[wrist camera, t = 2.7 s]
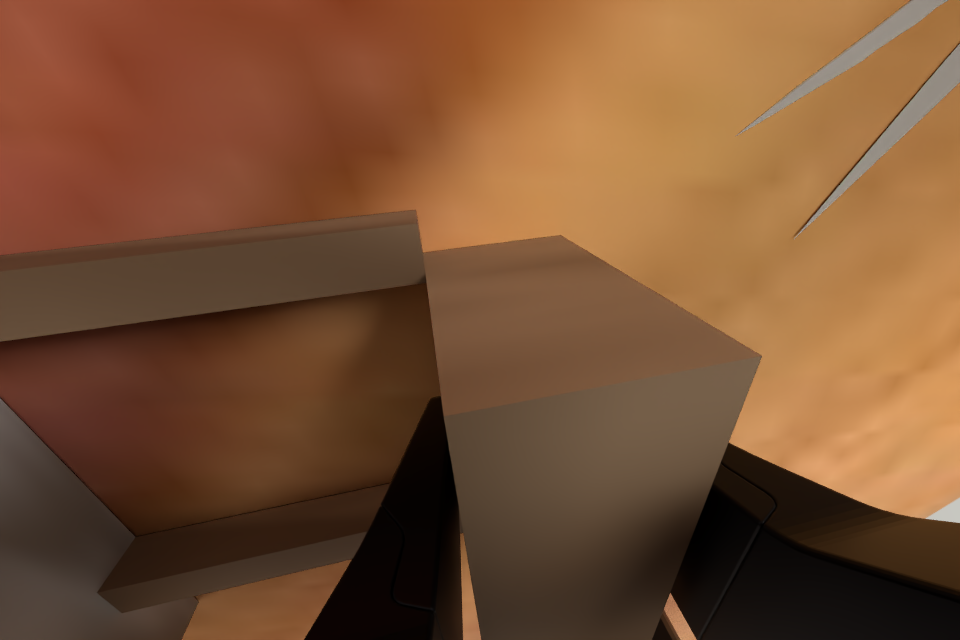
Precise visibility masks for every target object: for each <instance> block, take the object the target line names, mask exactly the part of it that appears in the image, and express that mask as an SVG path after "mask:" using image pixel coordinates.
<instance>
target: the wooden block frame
mask: <svg viewBox="0 0 960 640" xmlns="http://www.w3.org/2000/svg"><path fill="white" fill-rule="evenodd" d="M422 283H427V290H428V298H429V305H430V313H431V321H432V329H433V337H434V345H435V352H436V360H437V368H438V376H439V384H440V391H441V399H442V407H443V415H444V421H445V427H446V433H447V439H448V445H449V451H450V457H451V463H452V468H453V474H454V480H455V486H456V492H457V498H458V504H459V515H460V534H461V533H464V539H465V545H466V551H467V557H468V563H469V569H470V575H471V581H472V587H473V593H474V599H475V604H476V610H477V616H478V622H479V628H480V634H481V640H652V638H653V635H654V633H655V630H656V628H657V625H658V623H659V620H660V617H661V615H662V612H663V610H664V607H665V605H666V602H667V599H668V597H669V594H670V592H671V589H672V587H673V584H674V581H675V579H676V576H677V574H678V571H679V568H680V566H681V563H682V561H683V558H684V556H685V553H686V550H687V548H688V545H689V543H690V540H691V538H692V535H693V532H694V530H695V527H696V525H697V522H698V520H699V517H700V514H701V512H702V509H703V507H704V504H705V502H706V499H707V496H708V494H709V491H710V489H711V486H712V484H713V481H714V478H715V476H716V473H717V471H718V468H719V466H720V463H721V460H722V458H723V455H724V453H725V450H726V448H727V445H728V442H729V440H730V437H731V435H732V432H733V430H734V427H735V424H736V422H737V419H738V417H739V414H740V412H741V409H742V406H743V404H744V401H745V399H746V396H747V393H748V391H749V388H750V386H751V383H752V381H753V378H754V375H755V373H756V370H757V368H758V365H759V363H760V360H761V357H762V356H761V355H760V354H758V353H756V352H755V351H753V350H751V349H750V348H748V347H746V346H745V345H743V344H741V343H740V342H738V341H736V340H735V339H733V338H731V337H730V336H728V335H726V334H725V333H723V332H721V331H720V330H718V329H716V328H715V327H713V326H711V325H710V324H708V323H706V322H705V321H703V320H701V319H700V318H698V317H696V316H695V315H693V314H691V313H690V312H688V311H686V310H685V309H683V308H681V307H680V306H678V305H676V304H675V303H673V302H671V301H670V300H668V299H666V298H665V297H663V296H661V295H660V294H658V293H656V292H655V291H653V290H651V289H650V288H648V287H646V286H645V285H643V284H641V283H640V282H638V281H636V280H635V279H633V278H631V277H630V276H628V275H626V274H625V273H623V272H621V271H619V270H618V269H616V268H614V267H613V266H611V265H609V264H608V263H606V262H604V261H603V260H601V259H599V258H598V257H596V256H594V255H593V254H591V253H589V252H588V251H586V250H584V249H583V248H581V247H579V246H578V245H576V244H574V243H573V242H571V241H569V240H568V239H566V238H564V237H563V236H561V235H559V236H551V237H543V238H535V239H527V240H520V241H512V242H504V243H496V244H488V245H480V246H472V247H464V248H456V249H448V250H440V251H433V252H425V253H423V251H422V245H421V239H420V232H419V226H418V220H417V214H416V210H410V211H401V212H392V213H383V214H374V215H365V216H356V217H346V218H337V219H328V220H319V221H310V222H301V223H292V224H283V225H274V226H265V227H255V228H246V229H237V230H228V231H219V232H210V233H201V234H192V235H183V236H174V237H164V238H155V239H146V240H137V241H128V242H119V243H110V244H101V245H92V246H83V247H73V248H64V249H55V250H46V251H37V252H28V253H19V254H10V255H1V256H0V342H1V341H9V340H16V339H23V338H30V337H38V336H45V335H52V334H59V333H67V332H74V331H81V330H88V329H96V328H103V327H110V326H117V325H124V324H132V323H139V322H146V321H153V320H161V319H168V318H175V317H182V316H190V315H197V314H204V313H211V312H219V311H226V310H233V309H240V308H248V307H255V306H262V305H269V304H277V303H284V302H291V301H298V300H306V299H313V298H320V297H327V296H335V295H342V294H349V293H356V292H364V291H371V290H378V289H385V288H393V287H400V286H407V285H414V284H422ZM389 485H390V484H385V485H380V486H375V487H371V488H366V489H361V490H356V491H352V492H347V493H342V494H337V495H333V496H328V497H323V498H318V499H314V500H309V501H304V502H299V503H295V504H290V505H285V506H280V507H276V508H271V509H266V510H261V511H257V512H252V513H247V514H243V515H238V516H233V517H228V518H224V519H219V520H214V521H209V522H205V523H200V524H195V525H190V526H186V527H181V528H176V529H171V530H167V531H162V532H157V533H152V534H148V535H143V536H138V537H135V536H134V535H133V534H132V533H131V532H130V531H129V530H128V529H127V528H126V527H125V526H124V525H123V524H122V523H121V522H120V521H119V520H118V519H117V518H116V517H115V516H114V515H113V513H112V512H111V511H110V510H109V509H108V508H107V507H106V506H105V505H104V504H103V503H102V502H101V501H100V500H99V499H98V498H97V497H96V496H95V495H94V494H93V493H92V492H91V491H90V490H89V489H88V488H87V487H86V486H85V485H84V484H83V483H82V482H81V481H80V480H79V479H78V478H77V477H76V476H75V474H74V473H73V472H72V471H71V470H70V469H69V468H68V467H67V466H66V465H65V464H64V463H63V462H62V461H61V460H60V459H59V458H58V457H57V456H56V455H55V454H54V453H53V452H52V451H51V450H50V449H49V448H48V447H47V446H46V445H45V444H44V443H43V442H42V441H41V440H40V439H39V438H38V437H37V435H36V434H35V433H34V432H33V431H32V430H31V429H30V428H29V427H28V426H27V425H26V424H25V423H24V422H23V421H22V420H21V419H20V418H19V417H18V416H17V415H16V414H15V413H14V412H13V411H12V410H11V409H10V408H9V407H8V406H7V405H6V404H5V403H4V402H3V401H2V400H1V399H0V640H181V639H182V637H183V635H184V633H185V631H186V629H187V626H188V624H189V622H190V620H191V618H192V615H193V613H194V611H195V609H196V607H197V605H198V601H197V600H196V599H195V598H194V597H193V596H198V595H202V594H206V593H210V592H215V591H219V590H223V589H227V588H232V587H236V586H240V585H244V584H248V583H253V582H257V581H261V580H265V579H270V578H274V577H278V576H282V575H287V574H291V573H295V572H299V571H304V570H308V569H312V568H316V567H321V566H325V565H329V564H333V563H338V562H342V561H346V560H350V559H353V557H354V555H355V553H356V552H357V550H358V548H359V546H360V544H361V542H362V540H363V538H364V536H365V535H366V533H367V531H368V529H369V527H370V525H371V523H372V521H373V518H374V516H375V514H376V512H377V510H378V508H379V507H380V506H381V502H382V500H383V497H384V495H385V493H386V491H387V489H388V487H389Z"/></svg>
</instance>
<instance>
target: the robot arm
mask: <svg viewBox="0 0 960 640" xmlns="http://www.w3.org/2000/svg"><path fill="white" fill-rule="evenodd" d="M670 593H671V594H672V596H673V598H674V600H675V602H676V603H677V605H678V607H679V609H680V611H681V612H682V614H683V616H684V618H685V619H686V621H687V623H688V625H689V627H690V628H691V630H692V632H693V634H694V636H695V637H696V639H697V640H960V523H953V522H946V521H938V520H929V519H922V518H915V517H909V516H904V515H899V514H895V513H892V512H888V511H884V510H881V509H878V508H875V507H872V506H869V505H867V504H864V503H862V502H859V501H857V500H854V499H852V498H850V497H848V496H845V495H843V494H841V493H838V492H836V491H834V490H832V489H829V488H827V487H825V486H822V485H820V484H818V483H816V482H813V481H811V480H809V479H806V478H804V477H802V476H800V475H797V474H795V473H793V472H790V471H788V470H786V469H784V468H781V467H779V466H777V465H775V464H773V463H770V462H768V461H766V460H764V459H762V458H759V457H757V456H755V455H753V454H751V453H749V452H747V451H745V450H743V449H741V448H738V447H736V446H734V445H732V444H730V443H728V445H727V448H726V450H725V453H724V455H723V458H722V460H721V463H720V466H719V468H718V471H717V473H716V476H715V478H714V481H713V484H712V486H711V489H710V491H709V494H708V496H707V499H706V502H705V504H704V507H703V509H702V512H701V514H700V517H699V520H698V522H697V525H696V527H695V530H694V532H693V535H692V538H691V540H690V543H689V545H688V548H687V550H686V553H685V556H684V558H683V561H682V563H681V566H680V568H679V571H678V574H677V576H676V579H675V581H674V584H673V587H672V589H671V592H670ZM304 640H463V623H462V587H461V551H460V515H459V504H458V498H457V492H456V486H455V480H454V474H453V468H452V463H451V457H450V451H449V445H448V439H447V433H446V427H445V421H444V415H443V407H442V399H441V396H438V397H433V398H431V399H430V400H429V402H428V404H427V406H426V408H425V410H424V413H423V415H422V417H421V419H420V421H419V423H418V425H417V427H416V430H415V432H414V434H413V436H412V438H411V440H410V442H409V444H408V447H407V449H406V451H405V453H404V455H403V457H402V459H401V461H400V464H399V466H398V468H397V470H396V472H395V474H394V476H393V478H392V481H391V483H390V485H389V487H388V489H387V491H386V493H385V495H384V497H383V500H382V502H381V506H380V507H379V508H378V510H377V512H376V514H375V516H374V518H373V521H372V523H371V525H370V527H369V529H368V531H367V533H366V535H365V536H364V538H363V540H362V542H361V544H360V546H359V548H358V550H357V552H356V553H355V555H354V557H353V559H352V560H351V562H350V564H349V566H348V567H347V569H346V571H345V573H344V574H343V576H342V578H341V579H340V581H339V583H338V584H337V586H336V588H335V589H334V591H333V593H332V594H331V596H330V597H329V599H328V601H327V602H326V604H325V606H324V607H323V609H322V611H321V612H320V614H319V616H318V617H317V619H316V621H315V622H314V624H313V626H312V627H311V629H310V631H309V632H308V634H307V636H306V637H305V639H304ZM652 640H680V638H679V636H678V635H677V633H676V631H675V629H674V627H673V625H672V624H671V622H670V620H669V618H668V616H667V614H666V613H665V611H664V610H663V612H662V615H661V617H660V620H659V623H658V625H657V628H656V630H655V633H654V635H653V638H652Z"/></svg>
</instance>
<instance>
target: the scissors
mask: <svg viewBox="0 0 960 640" xmlns="http://www.w3.org/2000/svg"><path fill="white" fill-rule="evenodd" d="M946 1H948V0H910V1H909V2H908V3H906V4H905V5H904V6H903V7H901V8H900V9H899V10H897V11H896V12H895V13H894V14H892V15H891V16H890V17H888V18H887V19H886V20H884V21H883V22H882V23H881V24H879V25H878V26H877V27H875V28H874V29H873V30H872V31H870V32H869V33H868V34H866V35H865V36H864V37H862V38H861V39H859V40H858V41H857V42H855V43H854V44H853V45H851V46H850V47H849V48H847V49H846V50H845V51H843V52H842V53H841V54H839V55H838V56H837V57H835V58H834V59H833V60H831V61H830V62H829V63H827V64H826V65H825V66H823V67H822V68H821V69H819V70H818V71H817V72H815V73H814V74H813V75H811V76H810V77H809V78H807V79H806V80H805V81H803V82H802V83H801V84H799V85H798V86H797V87H796V88H794V89H793V90H792V91H791V92H789V93H788V94H787V95H786V96H784V97H783V98H782V99H781V100H779V101H778V102H777V103H776V104H774V105H773V106H772V107H771V108H770V109H768V110H767V111H766V112H765V113H763V114H762V115H761V116H760V117H758V118H757V119H756V120H755V121H753V122H752V123H751V124H750V125H748V126H747V127H746V128H745V129H743V130H742V131H741V132H740V133H739V134H741V133H742V132H744V131H746V130H747V129H749V128H751V127H753V126H754V125H756V124H758V123H760V122H761V121H763V120H765V119H766V118H768V117H770V116H771V115H773V114H775V113H776V112H778V111H780V110H781V109H783V108H785V107H786V106H788V105H790V104H791V103H793V102H795V101H796V100H798V99H800V98H801V97H803V96H805V95H806V94H808V93H810V92H811V91H813V90H815V89H816V88H818V87H820V86H821V85H823V84H825V83H826V82H828V81H830V80H831V79H833V78H835V77H836V76H838V75H840V74H841V73H843V72H845V71H846V70H848V69H850V68H851V67H853V66H855V65H856V64H858V63H860V62H861V61H863V60H864V59H866V58H867V57H868V56H869V55H871V54H872V53H873V52H874V51H876V50H877V49H879V48H880V47H882V46H883V45H885V44H886V43H888V42H889V41H891V40H892V39H894V38H895V37H897V36H898V35H900V34H901V33H903V32H904V31H906V30H908V29H909V28H911V27H912V26H914V25H915V24H917V23H918V22H919V21H921V20H922V19H923V18H924V17H926V16H927V15H928V14H929V13H930V12H932V11H933V10H934V9H935V8H937V7H938V6H940V5H941V4H943V3H945V2H946ZM959 82H960V44H959V45H958V46H957V47H956V49H955V50H954V51H953V52H952V53H951V54H950V56H949V57H948V58H947V59H946V60H945V61H944V62H943V64H942V65H941V66H940V67H939V68H938V69H937V71H936V72H935V73H934V74H933V75H932V76H931V78H930V79H929V80H928V81H927V82H926V83H925V85H924V86H923V87H922V88H921V89H920V91H919V92H918V93H917V94H916V95H915V96H914V98H913V99H912V100H911V101H910V102H909V104H908V105H907V106H906V107H905V108H904V109H903V111H902V112H901V113H900V114H899V115H898V117H897V118H896V119H895V120H894V121H893V122H892V124H891V125H890V126H889V127H888V128H887V130H886V131H885V132H884V133H883V134H882V135H881V137H880V138H879V139H878V140H877V141H876V143H875V144H874V145H873V146H872V147H871V148H870V150H869V151H868V152H867V153H866V154H865V156H864V157H863V158H862V159H861V160H860V161H859V163H858V164H857V165H856V166H855V167H854V169H853V170H852V171H851V172H850V173H849V174H848V176H847V177H846V178H845V179H844V180H843V182H842V183H841V184H840V185H839V186H838V187H837V189H836V190H835V191H834V192H833V193H832V195H831V196H830V197H829V198H828V199H827V200H826V202H825V203H824V204H823V205H822V206H821V208H820V209H819V210H818V211H817V212H816V213H815V215H814V216H813V217H812V218H811V219H810V221H809V222H808V223H807V224H806V225H805V226H804V228H803V229H802V230H801V231H800V232H799V234H800V233H801V232H802V231H803V230H804V229H805V228H806V227H807V226H809V225H810V224H811V223H812V222H813V221H814V220H815V219H816V218H817V217H818V216H819V215H820V214H821V213H822V212H823V211H824V210H825V209H827V208H828V207H829V206H830V205H831V204H832V203H833V202H834V201H835V200H836V199H837V198H838V197H839V196H840V195H841V194H842V193H844V192H845V191H846V190H847V189H848V188H849V187H850V186H851V185H852V184H853V183H854V182H855V181H856V180H857V179H858V178H859V177H860V176H862V175H863V174H864V173H865V172H866V171H867V170H868V169H869V168H870V167H871V166H872V165H873V164H874V163H875V162H876V161H877V160H878V159H880V158H881V157H882V156H883V155H884V154H885V153H886V152H887V151H888V150H889V149H890V148H891V147H892V146H893V145H894V144H895V143H897V142H898V141H899V140H900V139H901V138H902V137H903V136H904V135H905V134H906V133H907V132H908V131H909V130H910V129H911V128H912V127H913V126H915V125H916V124H917V123H918V122H919V121H920V120H921V119H922V118H923V117H924V116H925V115H926V114H927V113H928V112H929V111H930V110H931V109H933V108H934V107H935V106H936V105H937V104H938V103H939V102H940V101H941V100H942V99H943V98H944V97H945V96H946V95H947V94H948V93H949V92H950V91H951V90H952V89H953V88H954V87H955V86H956V85H957V84H958V83H959ZM739 134H737V135H739ZM737 135H736V136H737ZM799 234H798V235H799ZM798 235H797V236H798ZM797 236H796V237H797ZM796 237H795V238H796ZM795 238H794V239H795ZM794 239H793V240H794Z"/></svg>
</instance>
